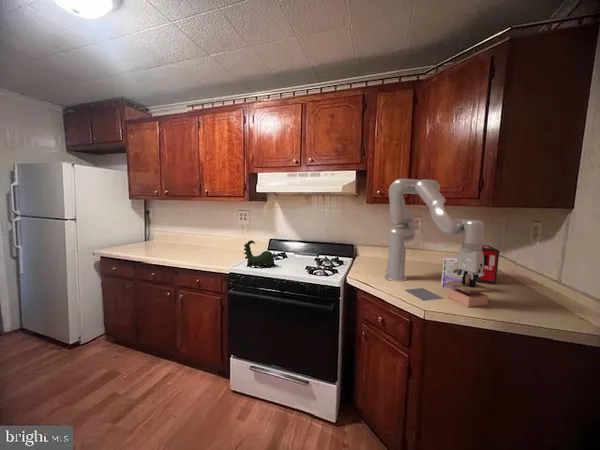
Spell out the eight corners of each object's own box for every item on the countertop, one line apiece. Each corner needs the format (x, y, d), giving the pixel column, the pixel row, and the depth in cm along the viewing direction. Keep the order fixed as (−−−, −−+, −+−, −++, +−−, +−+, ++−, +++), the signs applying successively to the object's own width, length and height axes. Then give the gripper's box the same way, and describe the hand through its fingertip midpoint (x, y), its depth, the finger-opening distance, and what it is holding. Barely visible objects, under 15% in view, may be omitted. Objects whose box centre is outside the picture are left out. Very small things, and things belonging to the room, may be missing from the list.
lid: (447, 284, 118) (448, 272, 117) (466, 282, 121) (467, 270, 120) (469, 293, 106) (471, 280, 105) (490, 291, 109) (492, 278, 108)
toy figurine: (243, 267, 171) (274, 268, 162) (240, 241, 170) (272, 241, 161) (250, 264, 180) (280, 265, 171) (248, 239, 179) (278, 238, 170)
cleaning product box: (495, 284, 139) (499, 250, 137) (477, 282, 142) (480, 249, 140) (485, 276, 154) (488, 245, 152) (469, 274, 158) (471, 244, 155)
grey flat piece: (403, 290, 127) (403, 289, 127) (422, 289, 130) (422, 288, 130) (423, 301, 114) (423, 300, 114) (444, 299, 117) (444, 298, 117)
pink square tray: (447, 298, 118) (448, 288, 118) (465, 296, 121) (466, 287, 120) (468, 308, 107) (469, 297, 107) (487, 306, 110) (488, 295, 110)
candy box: (469, 288, 132) (472, 259, 130) (472, 292, 127) (475, 261, 125) (440, 284, 138) (443, 256, 136) (442, 288, 132) (444, 258, 131)
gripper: (450, 244, 118) (447, 280, 120) (482, 251, 102) (478, 292, 104) (462, 243, 120) (459, 279, 122) (496, 250, 104) (492, 291, 106)
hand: (468, 285), depth 113 cm, fingers closed on lid, 2 cm apart
